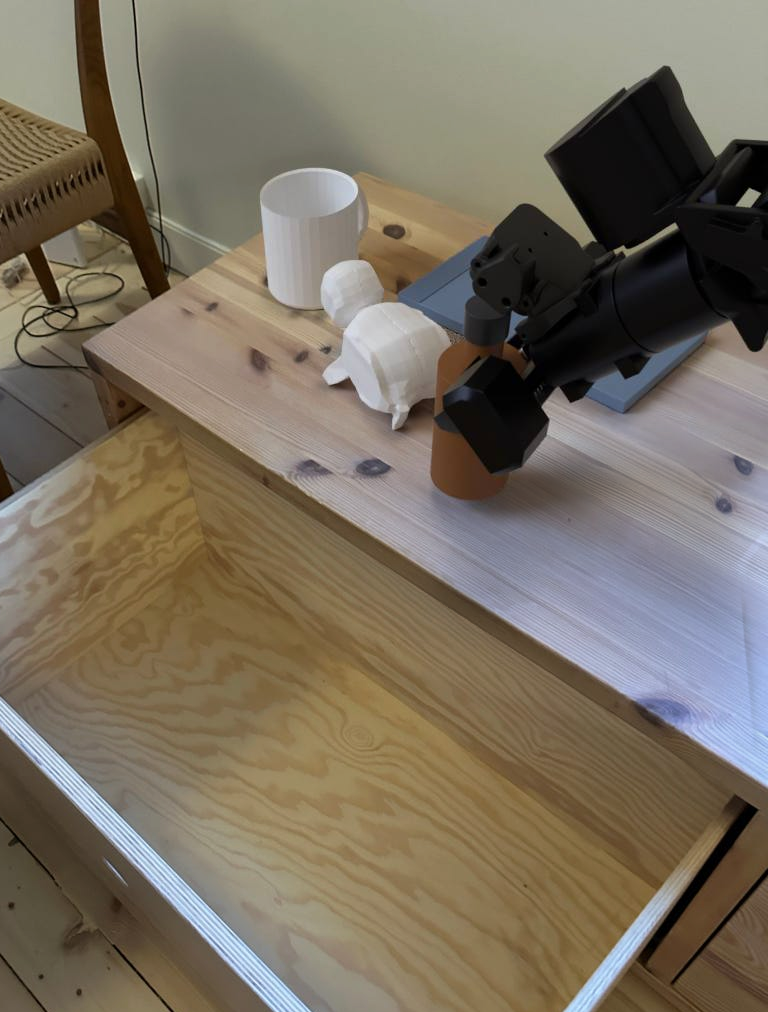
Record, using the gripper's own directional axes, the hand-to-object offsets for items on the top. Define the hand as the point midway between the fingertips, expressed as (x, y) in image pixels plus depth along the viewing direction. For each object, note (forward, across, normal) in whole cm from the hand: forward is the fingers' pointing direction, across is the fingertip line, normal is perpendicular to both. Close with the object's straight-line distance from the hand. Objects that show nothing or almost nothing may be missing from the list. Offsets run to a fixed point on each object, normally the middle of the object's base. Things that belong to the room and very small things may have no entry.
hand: (460, 397), depth 65 cm
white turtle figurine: (+15, -8, -2) cm, 17 cm away
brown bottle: (+4, 0, +6) cm, 7 cm away
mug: (+24, -19, -12) cm, 33 cm away
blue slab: (+8, -23, +4) cm, 25 cm away
